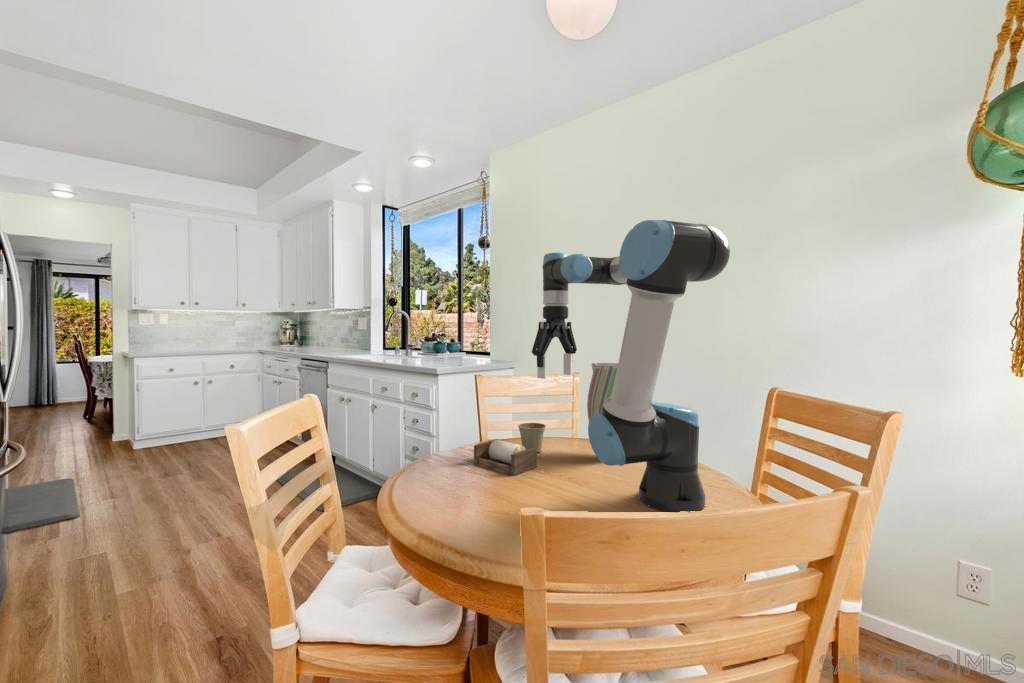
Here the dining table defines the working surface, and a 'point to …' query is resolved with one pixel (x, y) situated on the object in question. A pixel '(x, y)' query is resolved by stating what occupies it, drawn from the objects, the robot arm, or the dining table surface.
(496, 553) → the dining table surface
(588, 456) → the dining table surface
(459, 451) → the dining table surface
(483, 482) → the dining table surface
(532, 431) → the flower pot
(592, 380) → the vase
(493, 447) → the roll
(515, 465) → the cradle
